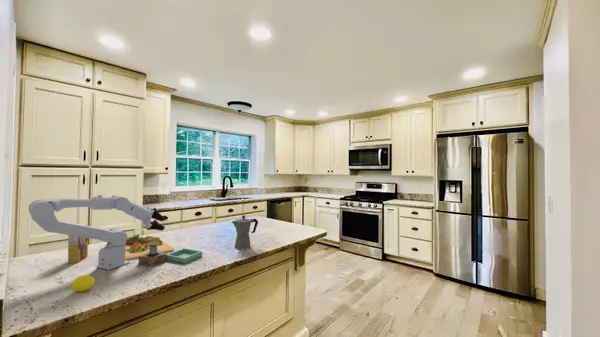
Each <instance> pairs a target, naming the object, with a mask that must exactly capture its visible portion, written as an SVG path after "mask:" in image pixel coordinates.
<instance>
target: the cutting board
mask: <svg viewBox="0 0 600 337" xmlns="http://www.w3.org/2000/svg"><path fill="white" fill-rule="evenodd" d="M154 241H158V242H159V244H158V245H157V252H163V253H167V254H169V253H172V252H175V247H173V246H171V245H170V244H168V243H166V242H165V241H163V240H162V239H161V238H160V236H154V235H151V236H150V235H146V236H140V234H133V236H129V237H127V241H126V252H125V261H131V260H137V259H138V260H139V256H140V255H143V254H146V253H149V245H147V244H148V243H149V242H154Z"/></svg>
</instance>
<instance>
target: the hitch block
mask: <svg viewBox="0 0 600 337" xmlns="http://www.w3.org/2000/svg"><path fill="white" fill-rule="evenodd" d="M167 254H168V253H163V252H157V255H156V256H153V257H151V256H149V253H146V254H143V255H140V256H139V258H138V264H139V265H144V266H149V267H153V266H155V265H158V264H162V263H163V262H164V263H165V262H166V261H167V260H166V259H167Z"/></svg>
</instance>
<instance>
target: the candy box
mask: <svg viewBox="0 0 600 337" xmlns="http://www.w3.org/2000/svg"><path fill="white" fill-rule="evenodd" d="M86 226H89V225H86ZM67 236H68V237H67V240H68V243H67V257H68V258H67V263H68V264H76V263H77V264H78V263H80V262H81V261H83V260H84V259H86V258H87V257H89V256H88V255H89V253H88V252H89V250H88V249H89V238H84V237H78V236H72V235H67Z"/></svg>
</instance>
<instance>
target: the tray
mask: <svg viewBox="0 0 600 337" xmlns="http://www.w3.org/2000/svg"><path fill="white" fill-rule="evenodd" d="M202 257H203V251H202V250H197V249H190V248H185V247H184V248H181V249H179V250H174V251H173V252H169V253H167V259H166V261H169V262H173V263H179V264H183V265H185V264H188V263H190V262H192V261H195V260H197V259H199V258H202Z"/></svg>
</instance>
